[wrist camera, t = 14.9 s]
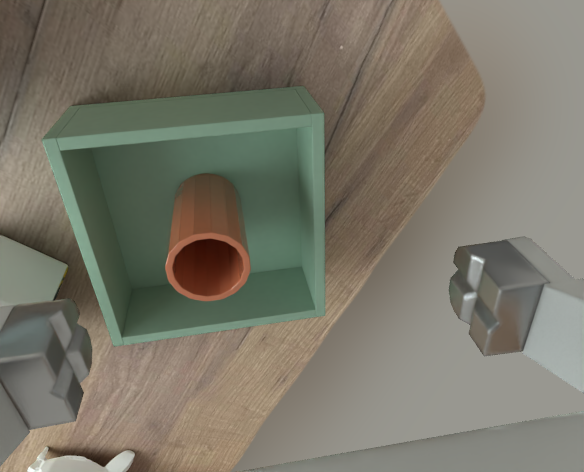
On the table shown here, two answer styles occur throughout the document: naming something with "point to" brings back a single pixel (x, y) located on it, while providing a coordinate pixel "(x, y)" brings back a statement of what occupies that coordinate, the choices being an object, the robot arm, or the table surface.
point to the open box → (160, 194)
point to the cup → (207, 239)
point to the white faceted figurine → (80, 463)
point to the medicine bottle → (28, 274)
